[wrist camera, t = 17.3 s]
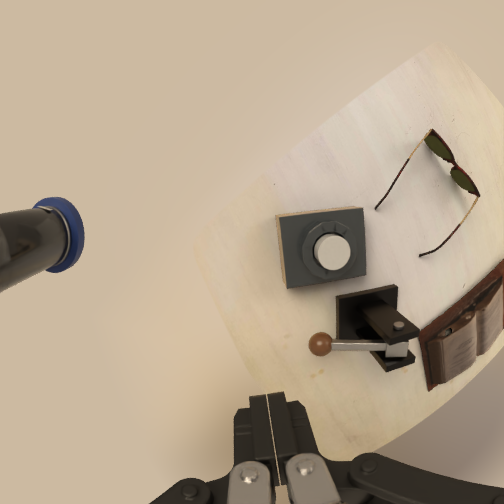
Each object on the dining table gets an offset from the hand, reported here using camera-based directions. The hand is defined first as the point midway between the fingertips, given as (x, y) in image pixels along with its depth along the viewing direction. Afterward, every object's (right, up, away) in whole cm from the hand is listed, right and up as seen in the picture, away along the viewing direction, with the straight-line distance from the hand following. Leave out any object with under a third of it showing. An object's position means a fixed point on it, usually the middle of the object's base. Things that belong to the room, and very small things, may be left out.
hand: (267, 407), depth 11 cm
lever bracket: (+17, -3, +29) cm, 34 cm away
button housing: (+8, +8, +26) cm, 29 cm away
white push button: (+9, +7, +22) cm, 25 cm away
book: (+45, -9, +32) cm, 56 cm away
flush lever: (+13, -5, +23) cm, 27 cm away
